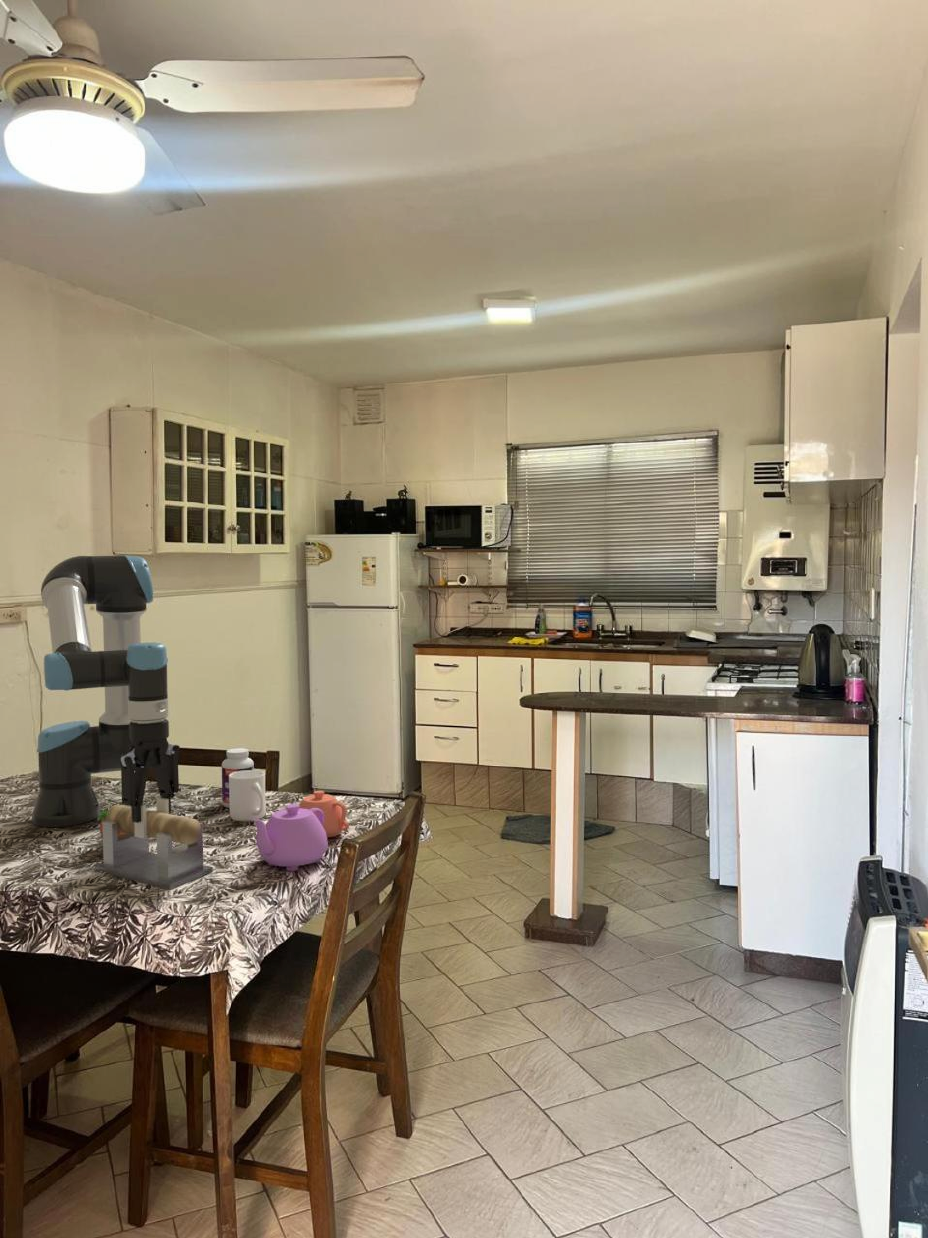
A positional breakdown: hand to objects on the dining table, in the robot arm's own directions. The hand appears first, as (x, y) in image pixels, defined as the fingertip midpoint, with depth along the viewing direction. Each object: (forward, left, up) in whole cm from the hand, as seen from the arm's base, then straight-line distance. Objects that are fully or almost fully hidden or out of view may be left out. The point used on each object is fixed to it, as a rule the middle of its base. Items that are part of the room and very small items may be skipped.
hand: (152, 833), depth 176 cm
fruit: (-19, +7, -8) cm, 21 cm away
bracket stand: (0, 0, -8) cm, 8 cm away
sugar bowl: (+15, +35, -8) cm, 39 cm away
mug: (-9, +37, -8) cm, 39 cm away
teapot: (+21, +17, -8) cm, 29 cm away
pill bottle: (-20, +44, -8) cm, 49 cm away
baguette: (0, 0, -1) cm, 1 cm away
